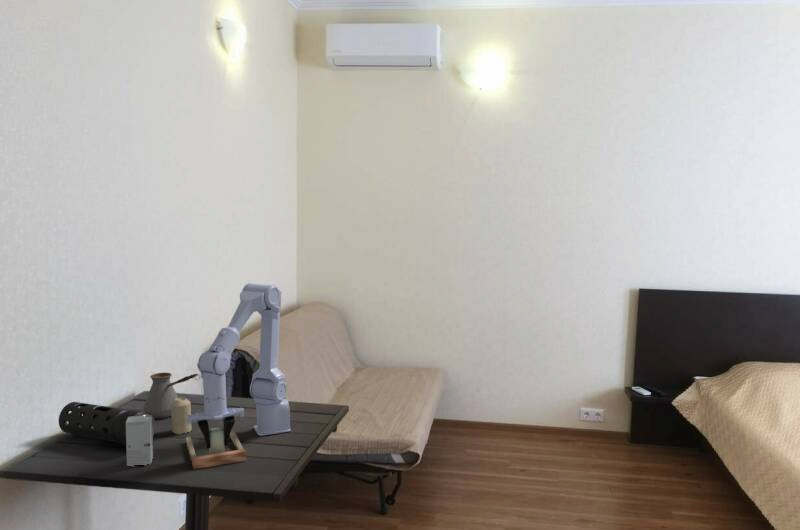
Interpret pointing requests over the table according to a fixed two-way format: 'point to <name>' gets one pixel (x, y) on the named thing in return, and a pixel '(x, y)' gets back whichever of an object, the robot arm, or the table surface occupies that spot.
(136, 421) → the skincare box
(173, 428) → the candle
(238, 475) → the table surface
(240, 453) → the channel
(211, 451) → the pale green rounded cylinder
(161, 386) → the coffee pot
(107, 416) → the muzzle brake
